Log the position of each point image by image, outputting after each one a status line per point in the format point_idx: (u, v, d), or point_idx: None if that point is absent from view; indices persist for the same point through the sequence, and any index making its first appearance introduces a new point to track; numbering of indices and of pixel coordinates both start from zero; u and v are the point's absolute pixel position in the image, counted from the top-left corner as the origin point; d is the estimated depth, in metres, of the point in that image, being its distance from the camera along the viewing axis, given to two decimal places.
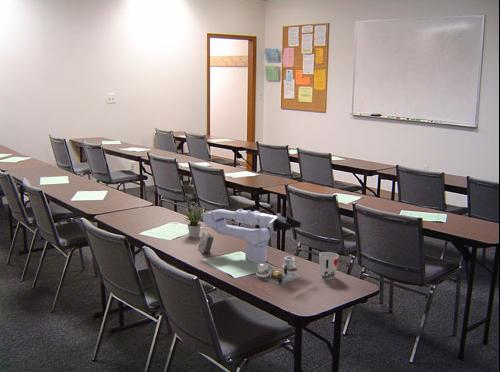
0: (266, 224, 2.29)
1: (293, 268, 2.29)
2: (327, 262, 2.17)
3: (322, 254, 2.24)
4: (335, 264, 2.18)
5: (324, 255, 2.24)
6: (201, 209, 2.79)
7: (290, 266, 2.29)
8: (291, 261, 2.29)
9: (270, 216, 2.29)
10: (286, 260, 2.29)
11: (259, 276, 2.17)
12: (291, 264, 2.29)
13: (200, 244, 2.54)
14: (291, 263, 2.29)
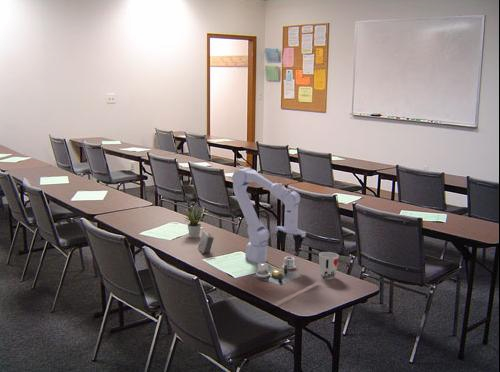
0: (294, 221, 2.25)
1: (293, 268, 2.29)
2: (327, 262, 2.17)
3: (322, 254, 2.24)
4: (335, 264, 2.18)
5: (324, 255, 2.24)
6: (201, 209, 2.79)
7: (290, 266, 2.29)
8: (291, 261, 2.29)
9: None
10: (286, 260, 2.29)
11: (259, 276, 2.17)
12: (291, 264, 2.29)
13: (200, 244, 2.54)
14: (291, 263, 2.29)
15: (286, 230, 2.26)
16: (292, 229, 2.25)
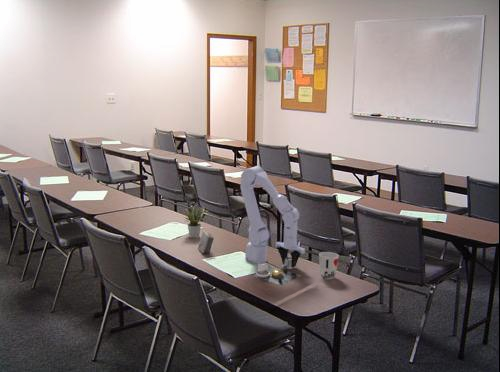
0: (293, 237, 2.26)
1: (293, 268, 2.29)
2: (327, 262, 2.17)
3: (322, 254, 2.24)
4: (335, 264, 2.18)
5: (324, 255, 2.24)
6: (201, 209, 2.79)
7: (290, 266, 2.29)
8: (291, 261, 2.29)
9: None
10: (286, 260, 2.29)
11: (259, 276, 2.17)
12: (291, 264, 2.29)
13: (200, 244, 2.54)
14: (291, 263, 2.29)
15: (285, 246, 2.27)
16: (291, 245, 2.27)
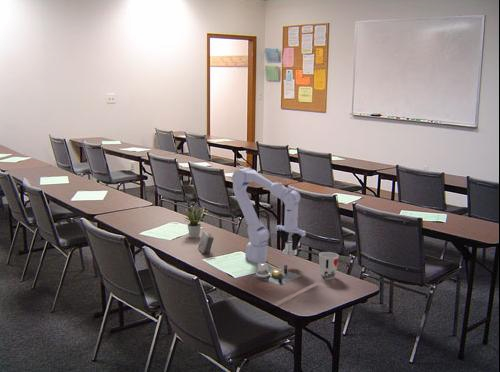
0: (294, 220, 2.25)
1: (294, 252, 2.27)
2: (327, 262, 2.17)
3: (322, 254, 2.24)
4: (335, 264, 2.18)
5: (324, 255, 2.24)
6: (201, 209, 2.79)
7: (291, 250, 2.28)
8: None
9: None
10: (286, 244, 2.28)
11: (259, 276, 2.17)
12: None
13: (200, 244, 2.54)
14: None
15: (286, 229, 2.26)
16: (292, 228, 2.25)
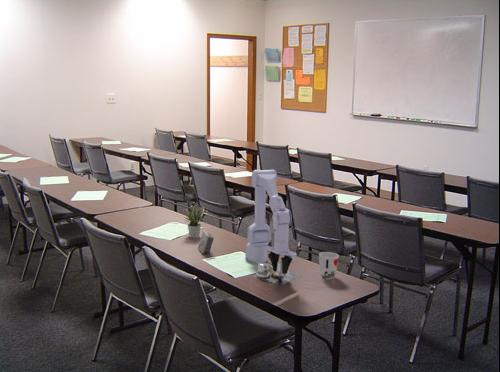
0: (284, 241, 2.08)
1: (286, 273, 2.11)
2: (327, 262, 2.17)
3: (322, 254, 2.24)
4: (335, 264, 2.18)
5: (324, 255, 2.24)
6: (201, 209, 2.79)
7: None
8: None
9: None
10: (279, 264, 2.12)
11: (259, 276, 2.17)
12: None
13: (200, 244, 2.54)
14: None
15: (276, 251, 2.09)
16: (282, 250, 2.08)
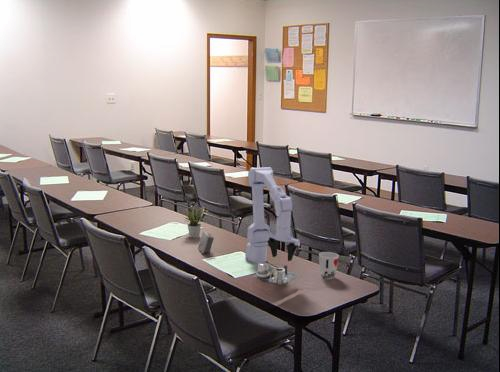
0: (287, 228, 2.10)
1: (283, 281, 2.10)
2: (327, 262, 2.17)
3: (322, 254, 2.24)
4: (335, 264, 2.18)
5: (324, 255, 2.24)
6: (201, 209, 2.79)
7: (280, 278, 2.11)
8: (281, 273, 2.10)
9: None
10: (275, 272, 2.11)
11: (259, 276, 2.17)
12: (281, 276, 2.11)
13: (200, 244, 2.54)
14: (281, 275, 2.11)
15: (278, 238, 2.11)
16: (285, 237, 2.11)
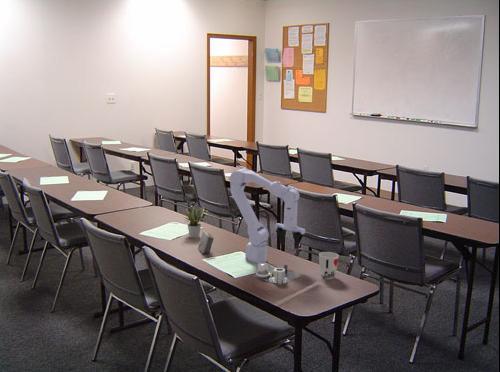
0: (293, 218, 2.26)
1: (283, 281, 2.10)
2: (327, 262, 2.17)
3: (322, 254, 2.24)
4: (335, 264, 2.18)
5: (324, 255, 2.24)
6: (201, 209, 2.79)
7: (280, 278, 2.11)
8: (281, 273, 2.10)
9: None
10: (275, 272, 2.11)
11: (259, 276, 2.17)
12: (281, 276, 2.11)
13: (200, 244, 2.54)
14: (281, 275, 2.11)
15: (286, 227, 2.27)
16: (291, 226, 2.26)
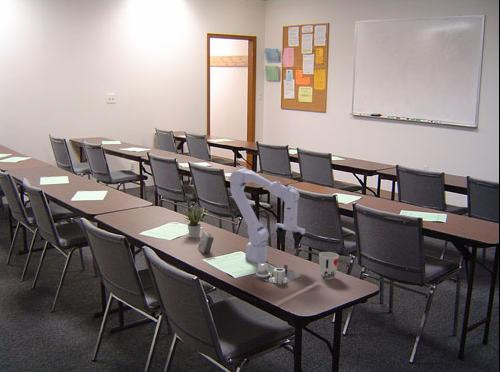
0: (293, 218, 2.26)
1: (283, 281, 2.10)
2: (327, 262, 2.17)
3: (322, 254, 2.24)
4: (335, 264, 2.18)
5: (324, 255, 2.24)
6: (201, 209, 2.79)
7: (280, 278, 2.11)
8: (281, 273, 2.10)
9: None
10: (275, 272, 2.11)
11: (259, 276, 2.17)
12: (281, 276, 2.11)
13: (200, 244, 2.54)
14: (281, 275, 2.11)
15: (286, 227, 2.27)
16: (291, 226, 2.26)
